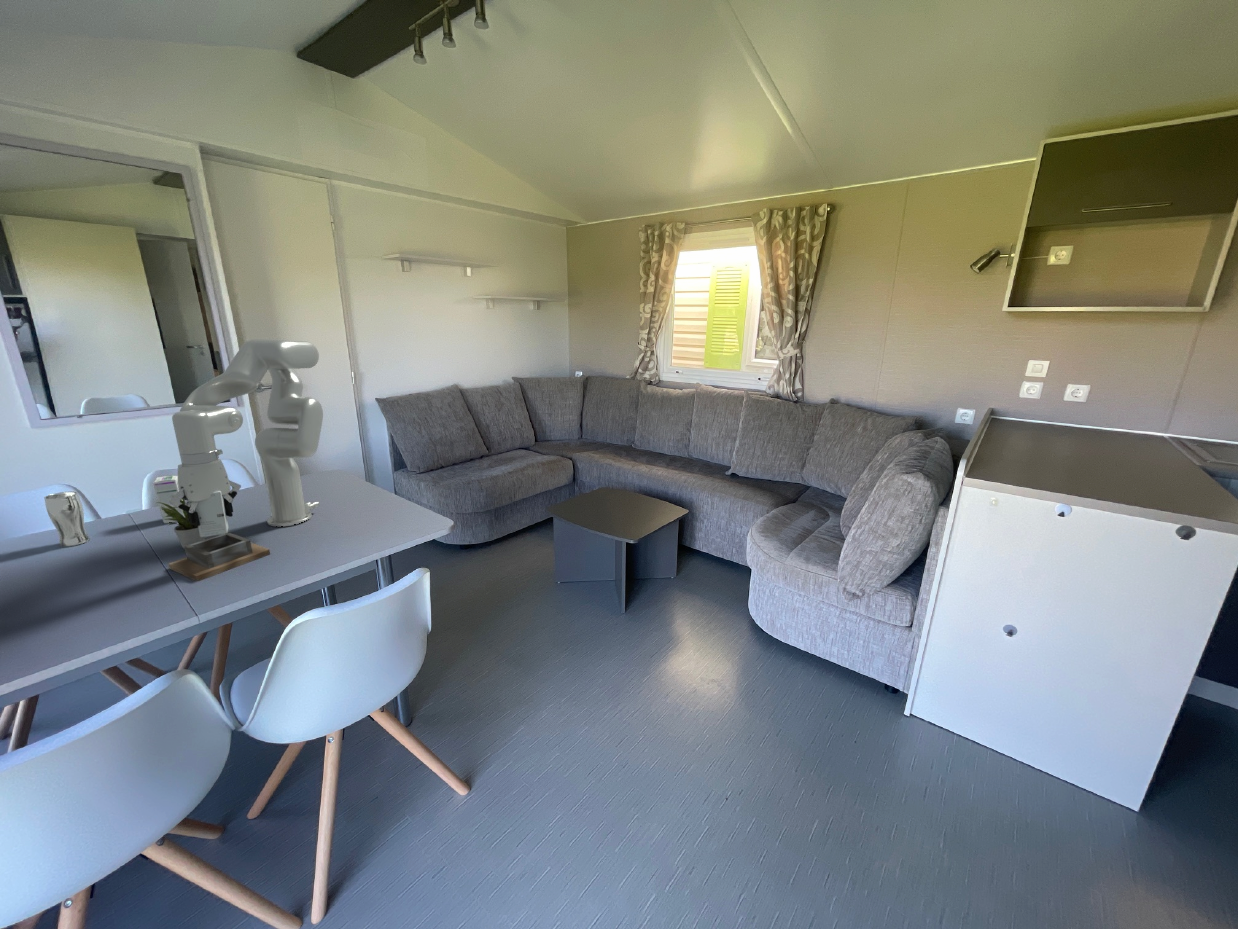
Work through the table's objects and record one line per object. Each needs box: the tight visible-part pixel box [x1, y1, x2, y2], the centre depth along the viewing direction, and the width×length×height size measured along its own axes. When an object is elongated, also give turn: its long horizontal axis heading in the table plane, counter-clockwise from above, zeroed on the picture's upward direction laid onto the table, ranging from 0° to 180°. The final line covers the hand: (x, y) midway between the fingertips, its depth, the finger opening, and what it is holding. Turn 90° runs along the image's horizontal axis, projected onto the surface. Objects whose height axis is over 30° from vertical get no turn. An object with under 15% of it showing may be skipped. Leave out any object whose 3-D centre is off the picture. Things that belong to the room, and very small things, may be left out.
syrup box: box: [152, 475, 186, 524], centre depth 165 cm, size 6×6×14 cm
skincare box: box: [195, 491, 229, 538], centre depth 136 cm, size 6×4×12 cm
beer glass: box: [43, 491, 91, 548], centre depth 146 cm, size 7×7×15 cm
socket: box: [168, 531, 271, 582], centre depth 139 cm, size 18×14×6 cm
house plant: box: [156, 496, 206, 550], centre depth 148 cm, size 14×14×16 cm
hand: (212, 519), depth 136 cm, fingers closed on skincare box, 7 cm apart
